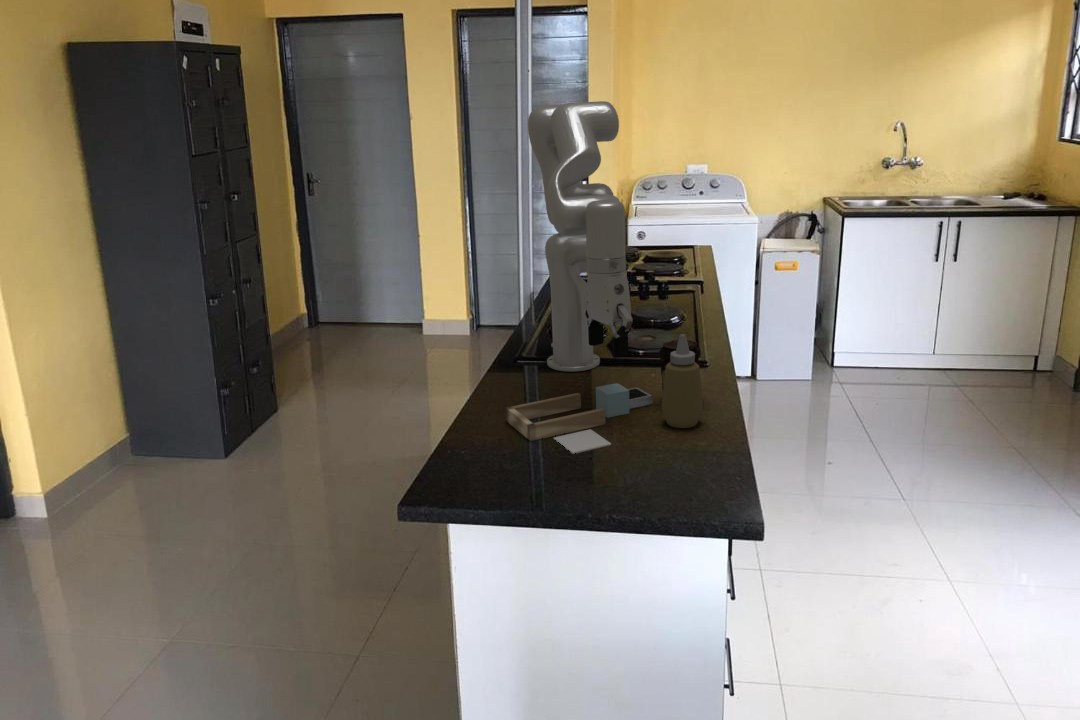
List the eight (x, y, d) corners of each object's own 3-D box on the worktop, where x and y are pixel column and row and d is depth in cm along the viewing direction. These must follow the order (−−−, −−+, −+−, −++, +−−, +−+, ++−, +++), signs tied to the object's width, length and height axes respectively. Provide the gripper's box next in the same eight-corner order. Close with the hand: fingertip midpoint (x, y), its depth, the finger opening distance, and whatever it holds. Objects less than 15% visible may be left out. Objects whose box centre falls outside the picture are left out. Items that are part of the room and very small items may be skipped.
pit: (612, 401, 182) (612, 392, 181) (637, 396, 184) (637, 387, 184) (627, 410, 177) (627, 401, 176) (652, 404, 179) (652, 395, 179)
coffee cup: (699, 412, 174) (700, 350, 170) (657, 411, 176) (657, 349, 172) (700, 397, 182) (701, 337, 178) (660, 395, 184) (660, 337, 180)
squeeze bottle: (653, 420, 171) (653, 333, 165) (688, 413, 174) (689, 326, 168) (675, 434, 164) (675, 343, 158) (711, 426, 167) (713, 337, 161)
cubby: (506, 421, 174) (506, 407, 173) (578, 406, 180) (577, 392, 179) (530, 441, 164) (529, 426, 163) (605, 424, 170) (605, 410, 169)
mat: (553, 439, 164) (553, 437, 164) (590, 430, 167) (590, 429, 167) (572, 454, 157) (572, 452, 157) (611, 445, 161) (611, 443, 160)
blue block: (596, 410, 178) (595, 387, 176) (617, 405, 180) (617, 383, 178) (607, 418, 174) (606, 394, 172) (629, 413, 175) (629, 390, 174)
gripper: (646, 270, 161) (647, 357, 166) (601, 256, 176) (603, 337, 181) (611, 275, 158) (613, 364, 163) (568, 260, 173) (571, 343, 178)
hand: (608, 350), depth 172 cm, fingers open, 9 cm apart
